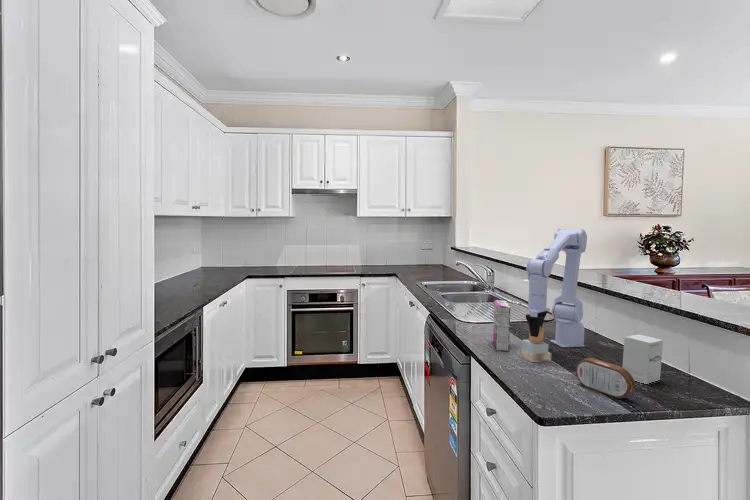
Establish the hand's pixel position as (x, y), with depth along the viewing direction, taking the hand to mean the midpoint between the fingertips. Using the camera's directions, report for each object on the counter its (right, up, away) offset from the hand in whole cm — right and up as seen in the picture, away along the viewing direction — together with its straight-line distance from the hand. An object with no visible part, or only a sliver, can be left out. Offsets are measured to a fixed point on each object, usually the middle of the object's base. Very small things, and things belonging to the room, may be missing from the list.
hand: (535, 333), depth 137 cm
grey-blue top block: (0, -6, 0) cm, 6 cm away
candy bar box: (-8, -8, +13) cm, 17 cm away
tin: (+8, -11, -26) cm, 30 cm away
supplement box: (+25, -10, -17) cm, 32 cm away
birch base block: (0, -9, 0) cm, 9 cm away
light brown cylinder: (0, -3, 0) cm, 3 cm away
